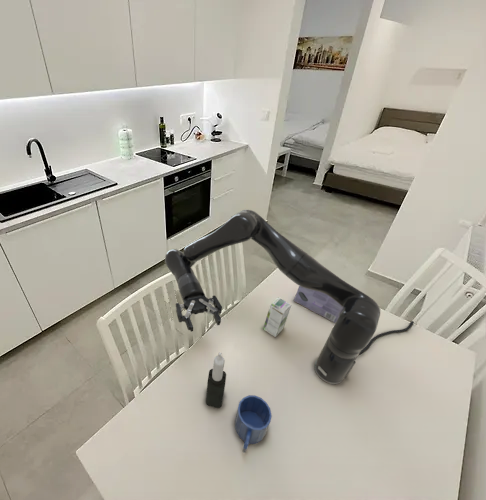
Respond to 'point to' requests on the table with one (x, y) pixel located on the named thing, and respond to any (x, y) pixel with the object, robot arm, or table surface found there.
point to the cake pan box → (318, 303)
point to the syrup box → (277, 316)
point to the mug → (252, 420)
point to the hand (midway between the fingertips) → (205, 326)
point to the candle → (216, 383)
